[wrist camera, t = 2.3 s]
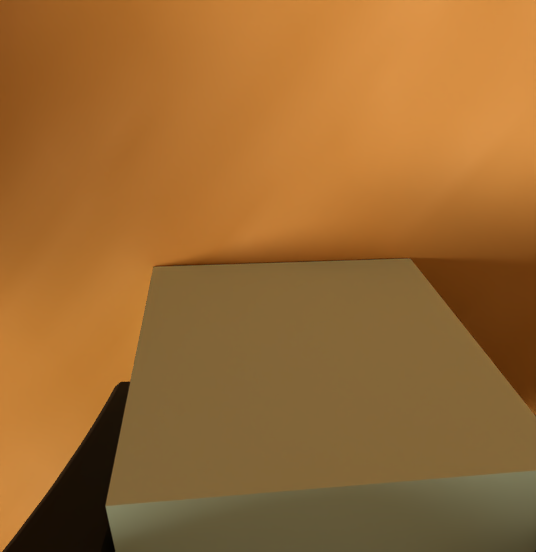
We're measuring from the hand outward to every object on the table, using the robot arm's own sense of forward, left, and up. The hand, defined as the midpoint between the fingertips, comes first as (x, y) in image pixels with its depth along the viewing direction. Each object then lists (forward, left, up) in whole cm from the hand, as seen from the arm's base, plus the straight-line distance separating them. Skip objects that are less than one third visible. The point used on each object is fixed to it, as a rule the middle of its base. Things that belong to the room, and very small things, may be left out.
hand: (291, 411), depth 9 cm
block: (0, 0, -1) cm, 1 cm away
